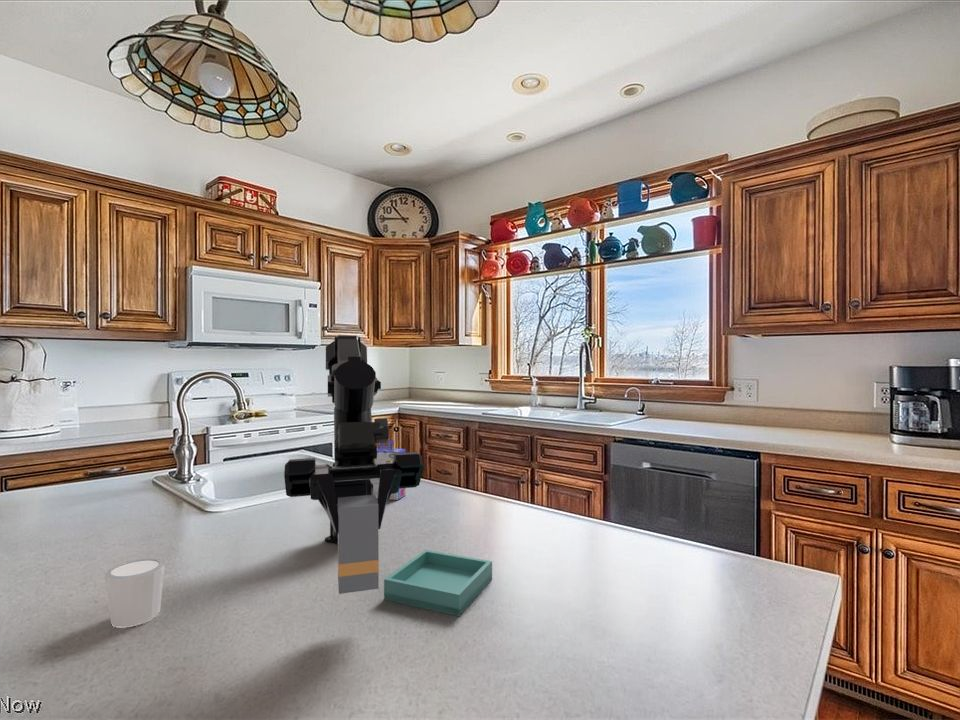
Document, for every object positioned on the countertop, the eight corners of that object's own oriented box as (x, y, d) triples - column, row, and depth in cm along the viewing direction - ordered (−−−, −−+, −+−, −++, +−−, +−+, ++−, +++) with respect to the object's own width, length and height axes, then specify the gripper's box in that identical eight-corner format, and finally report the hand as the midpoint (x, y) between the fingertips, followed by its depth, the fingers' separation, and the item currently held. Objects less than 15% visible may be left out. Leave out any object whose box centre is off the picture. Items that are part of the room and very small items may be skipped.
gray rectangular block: (337, 577, 69) (337, 497, 68) (375, 572, 70) (374, 494, 70) (338, 594, 64) (338, 508, 64) (378, 588, 65) (378, 504, 65)
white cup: (125, 606, 72) (124, 558, 72) (174, 604, 73) (174, 556, 73) (92, 632, 65) (92, 579, 65) (147, 630, 66) (147, 577, 66)
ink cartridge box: (406, 494, 131) (406, 439, 130) (399, 500, 125) (399, 443, 125) (371, 492, 133) (371, 438, 132) (362, 498, 127) (362, 442, 127)
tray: (384, 599, 74) (384, 579, 74) (425, 567, 86) (425, 549, 86) (459, 616, 69) (459, 594, 69) (492, 579, 81) (492, 561, 81)
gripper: (285, 400, 68) (277, 505, 57) (421, 397, 73) (437, 492, 63) (289, 448, 75) (283, 548, 65) (412, 441, 81) (425, 533, 70)
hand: (358, 529), depth 65 cm, fingers closed on gray rectangular block, 5 cm apart
